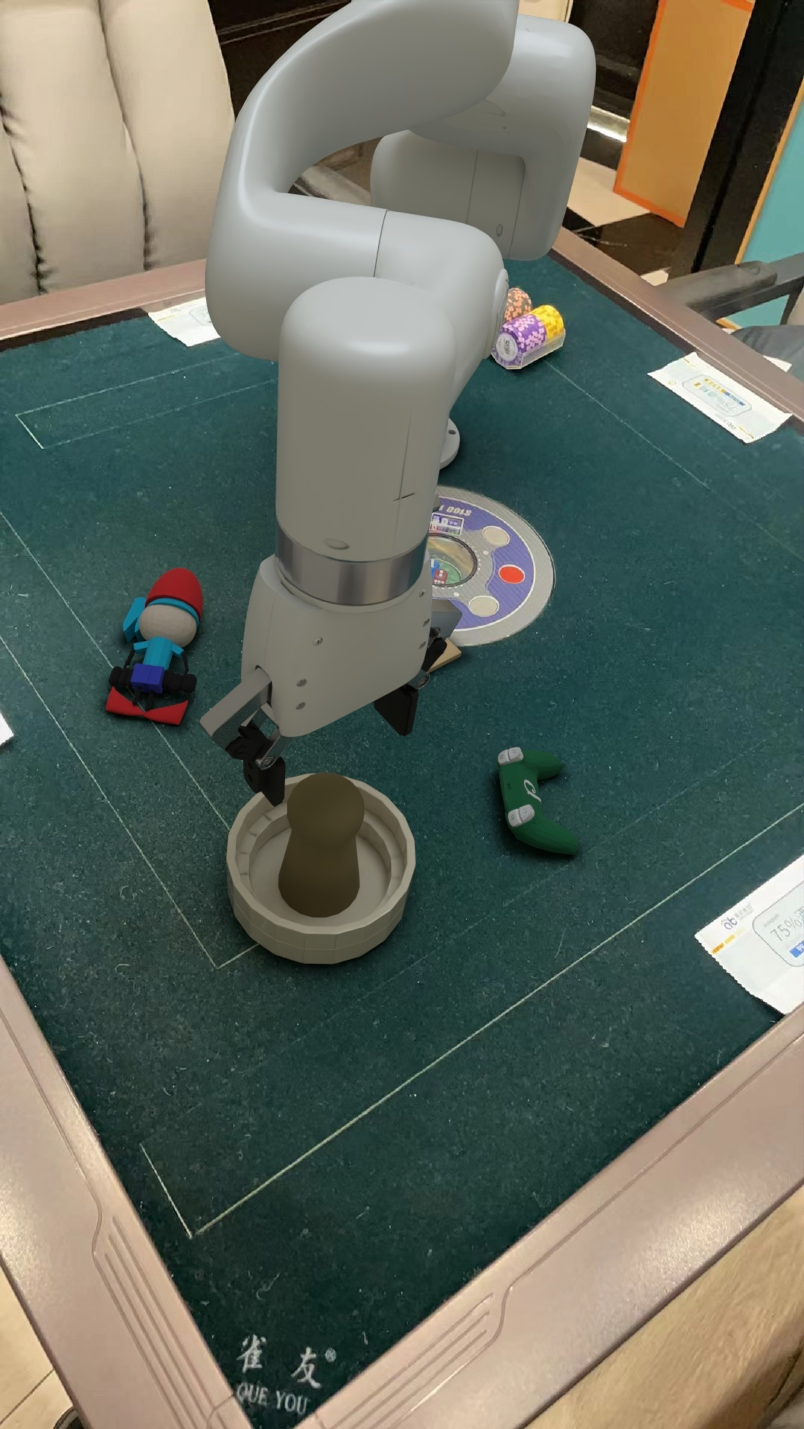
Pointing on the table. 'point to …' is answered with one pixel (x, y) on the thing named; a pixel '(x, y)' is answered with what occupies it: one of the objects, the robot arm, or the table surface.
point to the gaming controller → (531, 799)
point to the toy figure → (159, 645)
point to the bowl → (312, 939)
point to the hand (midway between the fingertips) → (330, 753)
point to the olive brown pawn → (322, 846)
